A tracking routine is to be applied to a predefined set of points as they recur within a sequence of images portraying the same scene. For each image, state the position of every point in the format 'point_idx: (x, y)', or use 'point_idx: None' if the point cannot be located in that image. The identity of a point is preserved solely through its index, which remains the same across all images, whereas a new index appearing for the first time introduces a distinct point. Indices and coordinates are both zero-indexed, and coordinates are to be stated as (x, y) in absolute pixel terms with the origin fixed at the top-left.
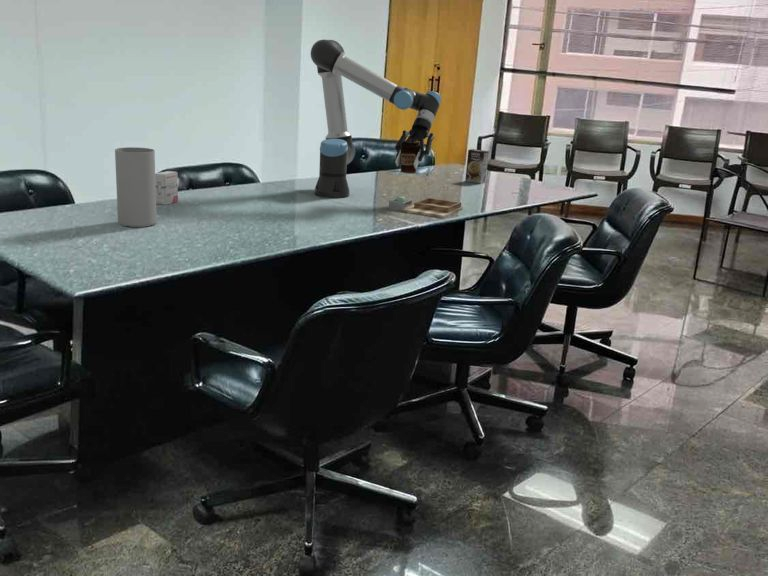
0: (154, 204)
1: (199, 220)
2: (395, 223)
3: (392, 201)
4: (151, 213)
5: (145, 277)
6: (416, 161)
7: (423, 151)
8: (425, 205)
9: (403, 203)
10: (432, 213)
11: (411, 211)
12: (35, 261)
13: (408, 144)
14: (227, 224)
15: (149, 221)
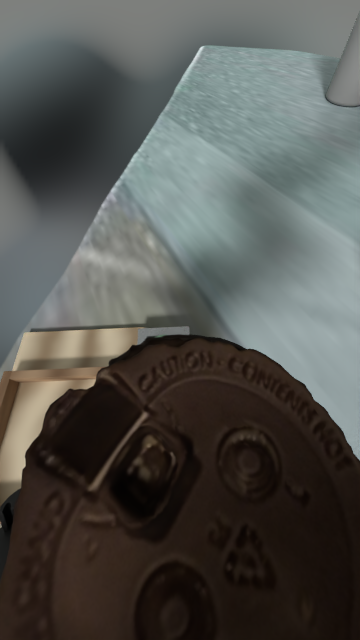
0: (342, 70)
1: (325, 125)
2: (114, 235)
3: (178, 327)
4: (333, 81)
5: (198, 59)
6: None
7: (8, 539)
8: (84, 368)
9: (142, 329)
10: (57, 335)
11: (117, 328)
12: (274, 52)
13: (164, 341)
14: (288, 129)
15: (328, 91)
